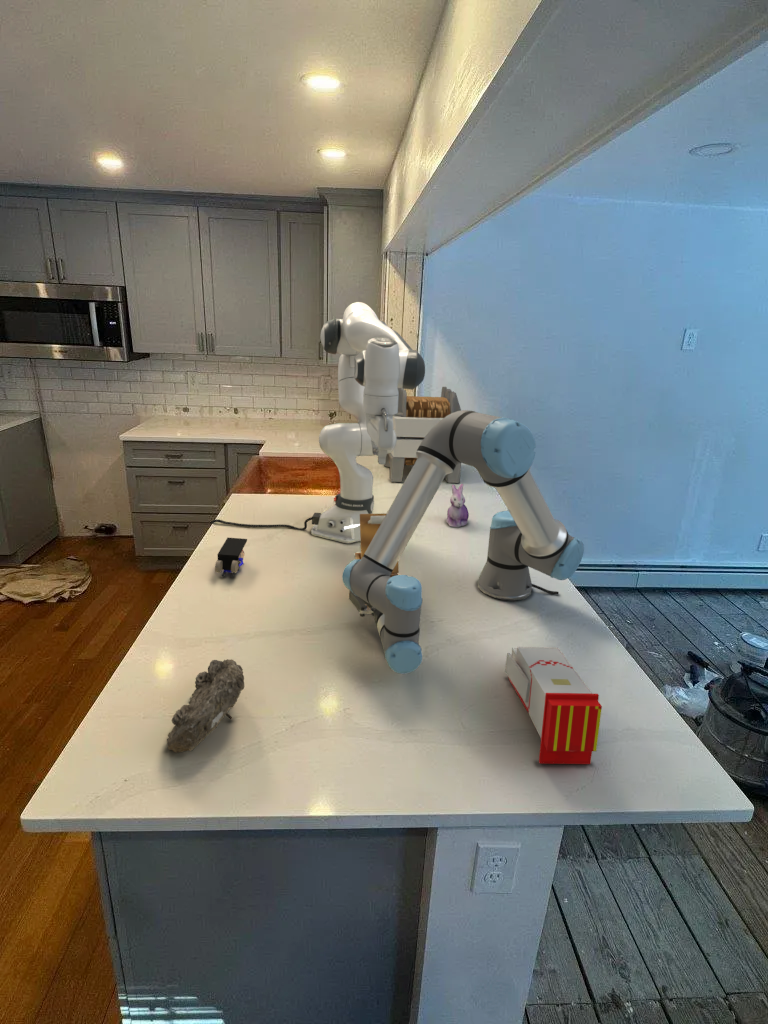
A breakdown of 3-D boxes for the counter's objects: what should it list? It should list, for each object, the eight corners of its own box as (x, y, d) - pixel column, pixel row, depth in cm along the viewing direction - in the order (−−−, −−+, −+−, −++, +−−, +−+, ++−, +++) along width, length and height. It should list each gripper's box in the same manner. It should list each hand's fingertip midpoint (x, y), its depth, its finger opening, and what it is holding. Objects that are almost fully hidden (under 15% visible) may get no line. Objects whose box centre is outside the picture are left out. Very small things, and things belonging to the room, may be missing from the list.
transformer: (382, 463, 289) (386, 382, 275) (445, 464, 293) (451, 384, 279) (390, 482, 257) (394, 392, 243) (460, 483, 261) (468, 394, 247)
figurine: (454, 529, 206) (457, 490, 201) (439, 520, 214) (442, 482, 209) (475, 526, 210) (479, 487, 205) (459, 517, 218) (463, 479, 213)
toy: (554, 629, 125) (611, 701, 96) (548, 684, 128) (602, 772, 98) (500, 628, 125) (540, 700, 95) (495, 684, 127) (533, 771, 98)
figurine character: (238, 584, 162) (249, 557, 175) (236, 562, 158) (247, 536, 172) (215, 584, 161) (227, 556, 175) (212, 561, 158) (225, 535, 171)
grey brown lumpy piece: (192, 660, 117) (244, 628, 112) (224, 691, 120) (276, 661, 115) (142, 746, 98) (202, 712, 93) (182, 779, 101) (242, 748, 96)
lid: (359, 514, 149) (364, 510, 140) (395, 513, 150) (402, 510, 142) (361, 574, 147) (366, 574, 138) (397, 572, 149) (404, 572, 140)
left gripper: (400, 413, 134) (398, 469, 138) (386, 399, 152) (383, 449, 157) (374, 412, 132) (372, 469, 137) (362, 399, 151) (361, 449, 156)
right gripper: (344, 639, 130) (335, 593, 151) (438, 634, 134) (417, 590, 155) (344, 610, 128) (336, 568, 148) (440, 606, 132) (418, 565, 152)
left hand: (378, 459), depth 147 cm, fingers open, 8 cm apart
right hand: (377, 579), depth 152 cm, fingers closed on chest, 10 cm apart
